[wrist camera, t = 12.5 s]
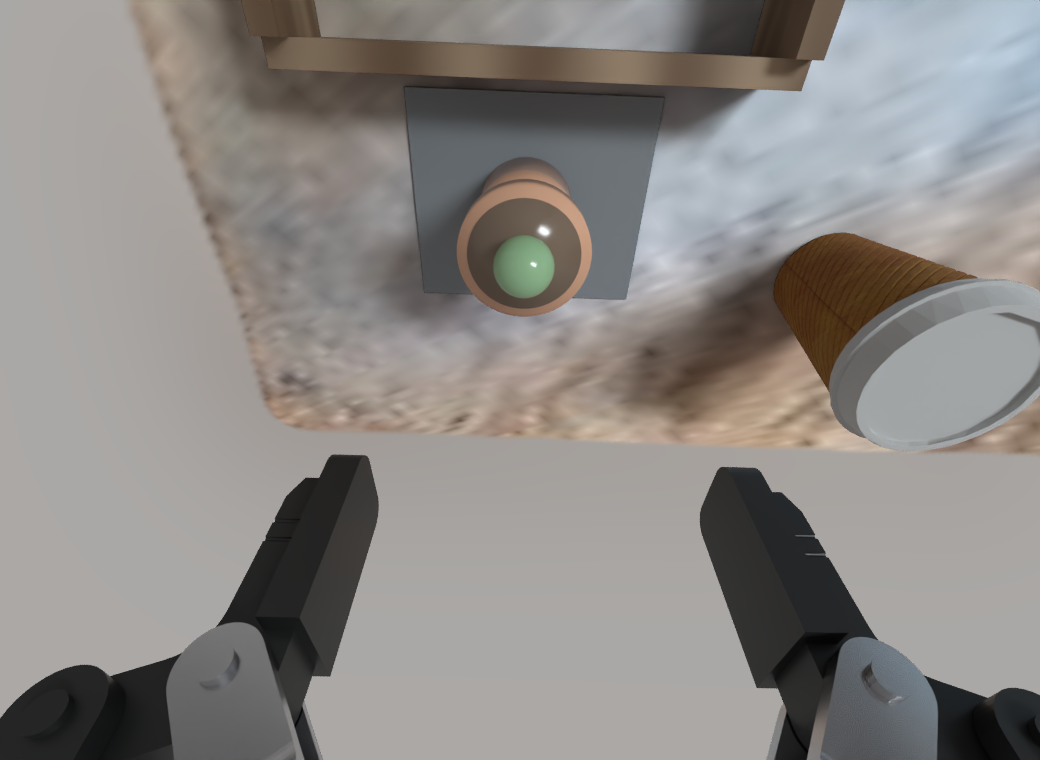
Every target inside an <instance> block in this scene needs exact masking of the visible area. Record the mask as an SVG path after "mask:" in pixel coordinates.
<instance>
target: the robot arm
mask: <svg viewBox="0 0 1040 760" xmlns="http://www.w3.org/2000/svg"><path fill="white" fill-rule="evenodd" d="M378 506H379V505H378V496H377V491H376V487H375V483H374V478H373V474H372V470H371V466H370V461H369V458H368V457H367V456H365V455H331V456H330V457H329V459H328V460H327V462H326V464H325V467H324V469H323V471H322V473H321V475H320V477H319V478H305V479H304V480H303V481H302V482H301V483H300V484H299V485H298V486H297V487H295V488H294V489H293V490H292V491H291V492H290V493H289V494H288V495H287V496H286V498H285V500H284V502H283V504H282V506H281V508H280V510H279V512H278V513H277V515H276V517H275V522H274V523H272V525H271V527H270V529H269V531H268V533H267V535H266V540H265V541H263V542H262V545H261V546H260V548H259V550H258V552H257V554H256V556H255V558H254V560H253V562H252V564H251V566H250V568H249V570H248V571H247V573H246V575H245V577H244V579H243V581H242V583H241V585H240V587H239V589H238V591H237V593H236V595H235V597H234V599H233V600H232V602H231V604H230V607H229V608H228V610H227V612H226V614H225V615H224V617H223V618H222V620H221V621H220V622H219V624H218V625H217V626H216V627H215V628H213V629H211V630H209V631H208V632H206V633H204V634H203V635H201V636H200V637H198V638H197V639H196V640H195V641H193V642H192V643H191V644H190V645H189V646H188V647H187V648H186V649H185V651H184V652H183V653H181V654H179V655H177V656H174V657H172V658H169V659H166V660H163V661H160V662H156V663H153V664H150V665H146V666H143V667H139V668H136V669H133V670H129V671H126V672H123V673H120V674H116V675H113V676H109V675H107V674H106V673H105V672H104V671H103V670H101V669H99V668H98V667H95V666H92V665H78V666H73V667H69V668H65V669H63V670H61V671H58V672H55V673H53V674H52V675H50V676H48V677H46V678H44V679H43V680H41V681H40V682H38V683H37V684H35V685H34V686H32V687H31V688H30V689H28V690H27V691H26V692H25V693H23V694H22V695H21V696H20V697H19V698H18V699H17V700H16V701H15V702H14V703H13V704H12V705H11V706H10V707H9V708H8V709H7V710H6V712H5V713H4V714H3V716H2V717H1V718H0V760H323V758H322V755H321V752H320V749H319V746H318V743H317V739H316V737H315V733H314V730H313V727H312V725H311V721H310V718H309V715H308V712H307V709H306V705H305V703H304V698H305V696H306V693H307V690H308V687H309V684H310V681H311V678H312V676H330V675H331V672H332V668H333V665H334V661H335V658H336V655H337V652H338V648H339V645H340V642H341V638H342V635H343V632H344V629H345V625H346V622H347V619H348V616H349V612H350V609H351V605H352V602H353V599H354V596H355V593H356V589H357V586H358V582H359V579H360V576H361V573H362V569H363V566H364V563H365V560H366V556H367V553H368V549H369V546H370V543H371V540H372V536H373V533H374V530H375V527H376V523H377V518H378ZM700 527H701V532H702V536H703V539H704V542H705V544H706V547H707V550H708V552H709V556H710V558H711V561H712V563H713V567H714V569H715V572H716V575H717V578H718V581H719V583H720V586H721V589H722V592H723V595H724V597H725V600H726V603H727V606H728V609H729V611H730V614H731V617H732V620H733V622H734V625H735V628H736V631H737V634H738V636H739V639H740V642H741V645H742V648H743V651H744V653H745V656H746V659H747V662H748V664H749V667H750V670H751V673H752V676H753V678H754V681H755V684H756V687H757V688H778V690H779V692H780V695H781V697H782V700H783V702H784V704H783V705H782V706H781V708H780V711H779V714H778V718H777V722H776V726H775V730H774V734H773V737H772V741H771V745H770V748H769V753H768V756H767V760H1040V695H1038V694H1036V693H1033V692H1031V691H1027V690H1024V689H1019V688H1007V689H1003V690H1001V691H1000V692H998V693H996V694H994V695H993V696H991V697H989V698H986V697H983V696H981V695H977V694H975V693H972V692H969V691H966V690H963V689H960V688H957V687H954V686H952V685H948V684H946V683H943V682H940V681H937V680H934V679H931V678H929V677H927V676H924V675H923V674H922V673H921V671H920V670H918V668H917V667H916V666H915V665H914V664H913V663H912V662H911V661H910V660H909V659H908V658H907V657H905V656H904V655H903V654H902V653H900V652H899V651H897V650H896V649H894V648H893V647H891V646H889V645H887V644H885V643H883V642H881V641H879V640H878V639H877V638H876V637H875V635H874V634H873V632H872V631H871V629H870V628H869V626H868V624H867V623H866V621H865V619H864V618H863V616H862V614H861V613H860V611H859V609H858V607H857V606H856V604H855V602H854V600H853V599H852V597H851V595H850V594H849V592H848V590H847V588H846V587H845V585H844V583H843V582H842V580H841V578H840V576H839V575H838V573H837V571H836V570H835V568H834V566H833V564H832V563H831V561H830V560H829V558H827V557H826V556H825V551H824V549H823V547H822V546H821V544H820V542H819V541H818V539H815V537H814V535H815V534H814V532H813V530H812V529H811V527H810V525H809V523H808V522H807V520H806V518H805V517H804V515H803V513H802V512H801V511H800V510H799V509H798V508H797V507H796V506H795V505H794V504H793V503H792V502H791V501H790V500H788V498H786V496H785V495H783V494H782V493H780V492H772V491H771V490H770V488H769V486H768V484H767V482H766V480H765V479H764V477H763V475H762V473H761V472H760V471H759V470H758V469H756V468H738V467H721V468H719V470H718V471H717V473H716V475H715V477H714V480H713V482H712V484H711V486H710V489H709V491H708V493H707V496H706V498H705V501H704V503H703V505H702V508H701V512H700Z"/></svg>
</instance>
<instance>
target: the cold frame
mask: <svg viewBox="0 0 1040 760" xmlns="http://www.w3.org/2000/svg"><path fill="white" fill-rule="evenodd" d="M241 2H242V6H243V10H244V14H245V18H246V22H247V26H248V30H249V34H250V36H261V38H262V42H263V47H264V51H265V55H266V59H267V63H268V67H269V69H285V70H309V71H332V72H356V73H380V74H404V75H428V76H451V77H475V78H499V79H523V80H547V81H571V82H594V83H618V84H642V85H666V86H690V87H714V88H737V89H761V90H785V91H801V90H802V87H803V84H804V81H805V79H806V76H807V73H808V70H809V67H810V64H811V61H812V60H824V58H825V56H826V53H827V50H828V47H829V44H830V41H831V39H832V36H833V33H834V30H835V27H836V25H837V22H838V19H839V16H840V13H841V10H842V8H843V5H844V2H845V0H765V2H764V6H763V9H762V13H761V17H760V20H759V24H758V28H757V31H756V35H755V39H754V42H753V46H752V50H751V53H750V56H749V55H726V54H703V53H679V52H656V51H633V50H610V49H587V48H564V47H541V46H517V45H494V44H471V43H448V42H425V41H402V40H379V39H355V38H332V37H321V36H320V30H319V25H318V19H317V13H316V8H315V2H314V0H241Z"/></svg>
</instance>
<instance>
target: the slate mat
mask: <svg viewBox="0 0 1040 760" xmlns="http://www.w3.org/2000/svg"><path fill="white" fill-rule="evenodd" d="M404 93H405V103H406V113H407V123H408V133H409V143H410V153H411V163H412V174H413V184H414V194H415V204H416V214H417V224H418V234H419V244H420V255H421V265H422V275H423V285H424V293H452V294H473V293H472V292H471V291H470V289H469V288H468V287H467V285H466V283H465V281H464V280H463V278H462V275H461V273H460V270H459V266H458V261H457V241H458V236H459V233H460V229H461V226H462V224H463V221H464V219H465V216H466V214H467V212H468V211H469V209H470V207H471V206H472V205H473V203H474V202H475V201H476V200H477V199H478V198H479V197H480V195H481V192H482V189H483V186H484V184H485V182H486V180H487V178H488V177H489V175H490V174H491V173H492V172H493V171H494V170H495V169H496V168H497V167H498V166H500V165H501V164H502V163H504V162H506V161H508V160H511V159H514V158H519V157H533V158H537V159H541V160H543V161H546V162H547V163H549V164H551V165H552V166H553V167H555V168H556V169H557V170H558V171H559V172H560V173H561V175H562V176H563V177H564V179H565V181H566V183H567V185H568V188H569V190H570V194H571V198H572V200H573V201H574V202H575V203H576V205H577V206H578V207H579V209H580V210H581V212H582V214H583V216H584V218H585V221H586V224H587V227H588V230H589V233H590V238H591V243H592V260H591V265H590V269H589V272H588V275H587V277H586V279H585V281H584V283H583V285H582V286H581V288H580V289H579V290H578V292H577V293H576V294H575V295H574V296H573V297H572V298H599V299H626V297H627V292H628V287H629V281H630V276H631V271H632V266H633V260H634V255H635V250H636V245H637V239H638V234H639V229H640V224H641V219H642V213H643V208H644V203H645V198H646V192H647V187H648V182H649V177H650V172H651V166H652V161H653V156H654V151H655V145H656V140H657V135H658V130H659V125H660V119H661V114H662V109H663V104H664V98H663V97H639V96H615V95H590V94H566V93H542V92H518V91H494V90H470V89H446V88H422V87H404Z"/></svg>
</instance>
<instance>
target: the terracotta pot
mask: <svg viewBox="0 0 1040 760" xmlns="http://www.w3.org/2000/svg"><path fill="white" fill-rule="evenodd" d="M591 260H592V243H591V238H590V233H589V230H588V227H587V224H586V221H585V218H584V216H583V214H582V212H581V210H580V209H579V207H578V206H577V205H576V203H575V202H574V201H573V200H572V198H571V194H570V190H569V188H568V185H567V183H566V181H565V179H564V177H563V176H562V175H561V173H560V172H559V171H558V170H557V169H556V168H555V167H553V166H552V165H551V164H549V163H547V162H546V161H543V160H541V159H537V158H533V157H519V158H514V159H511V160H508V161H506V162H504V163H502V164H501V165H500V166H498V167H497V168H496V169H495V170H494V171H493V172H492V173H491V174H490V175H489V177H488V178H487V180H486V182H485V184H484V186H483V189H482V192H481V195H480V197H479V198H478V199H477V200H476V201H475V202H474V203H473V205H472V206H471V207H470V209H469V211H468V212H467V214H466V216H465V219H464V221H463V224H462V226H461V229H460V233H459V236H458V241H457V261H458V266H459V270H460V273H461V275H462V278H463V280H464V281H465V283H466V285H467V287H468V288H469V289H470V291H471V292H472V293H473V294H474V295H475V296H476V297H477V298H478V299H479V300H480V301H481V302H483V303H484V304H485V305H487V306H489V307H490V308H492V309H494V310H496V311H498V312H501V313H504V314H508V315H513V316H536V315H541V314H545V313H548V312H550V311H553V310H555V309H557V308H559V307H560V306H562V305H563V304H565V303H566V302H568V301H569V300H570V299H571V298H572V297H573V296H574V295H575V294H576V293H577V292H578V290H579V289H580V288H581V286H582V285H583V283H584V281H585V279H586V277H587V275H588V272H589V269H590V265H591Z"/></svg>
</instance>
